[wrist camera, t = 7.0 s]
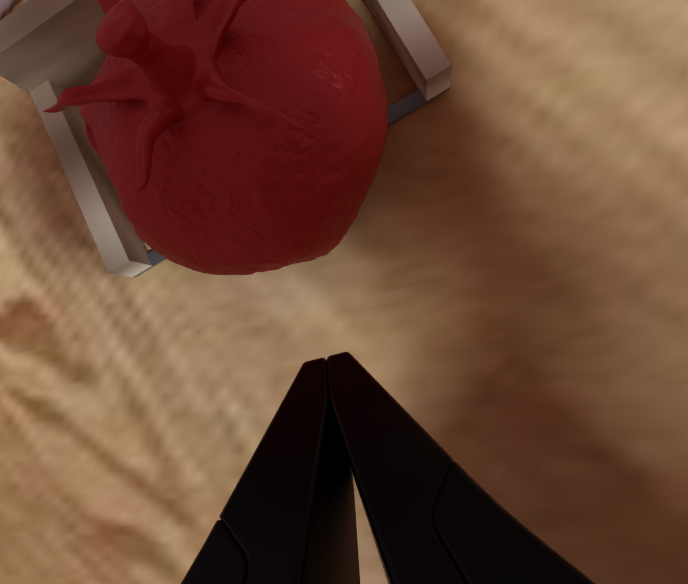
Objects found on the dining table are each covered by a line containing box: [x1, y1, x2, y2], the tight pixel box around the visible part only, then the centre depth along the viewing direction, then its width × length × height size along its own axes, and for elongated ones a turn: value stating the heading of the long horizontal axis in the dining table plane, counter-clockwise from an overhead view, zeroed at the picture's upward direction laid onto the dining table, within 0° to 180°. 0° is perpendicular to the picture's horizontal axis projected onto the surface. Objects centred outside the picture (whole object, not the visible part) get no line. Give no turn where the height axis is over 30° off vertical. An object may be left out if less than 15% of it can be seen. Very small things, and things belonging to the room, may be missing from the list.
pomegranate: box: [43, 0, 388, 275], centre depth 14 cm, size 10×10×9 cm
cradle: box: [0, 0, 452, 277], centre depth 17 cm, size 10×15×4 cm, turn 118°
